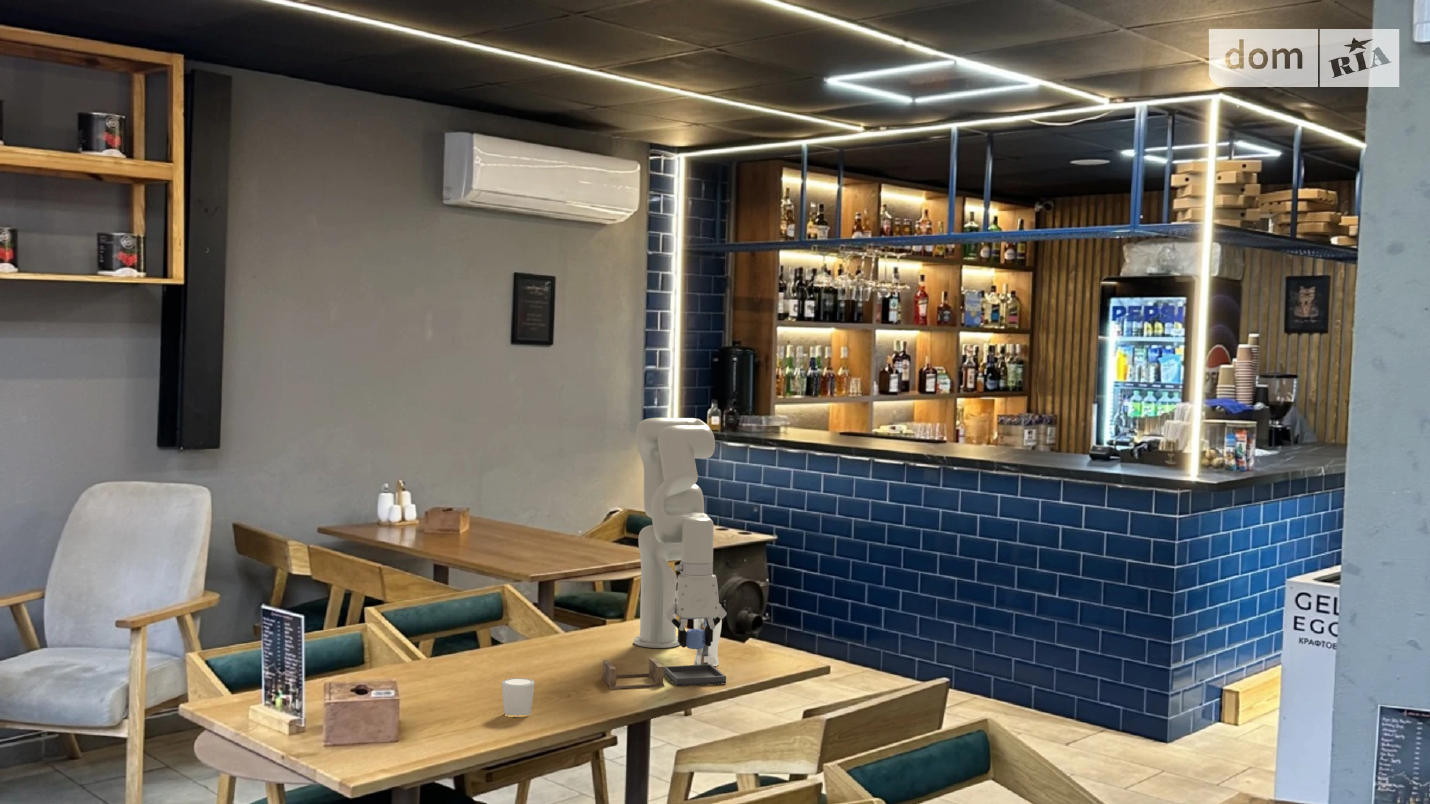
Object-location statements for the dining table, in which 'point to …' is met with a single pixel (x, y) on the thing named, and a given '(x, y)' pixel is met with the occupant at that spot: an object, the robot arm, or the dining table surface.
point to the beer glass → (708, 652)
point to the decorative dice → (695, 639)
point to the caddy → (633, 675)
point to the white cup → (517, 696)
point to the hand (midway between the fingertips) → (695, 645)
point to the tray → (694, 675)
